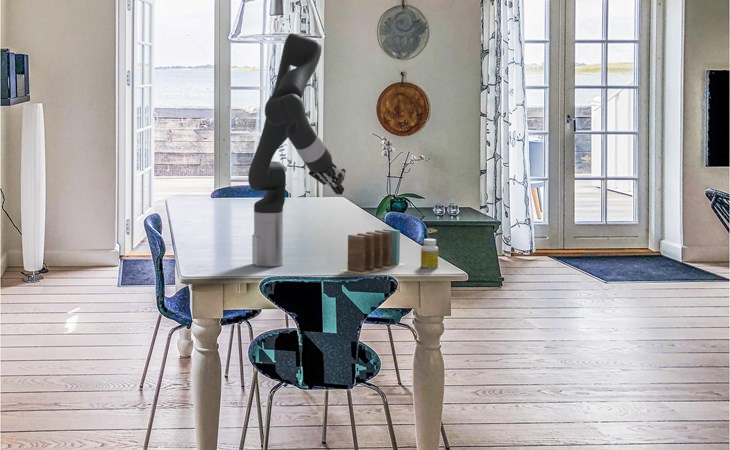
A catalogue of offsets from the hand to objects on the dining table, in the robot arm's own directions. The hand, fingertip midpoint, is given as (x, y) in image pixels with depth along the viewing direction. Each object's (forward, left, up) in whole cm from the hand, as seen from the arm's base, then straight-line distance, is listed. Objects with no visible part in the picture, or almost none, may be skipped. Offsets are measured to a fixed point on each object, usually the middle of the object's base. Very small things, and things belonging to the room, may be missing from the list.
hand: (340, 192), depth 250 cm
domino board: (+15, +10, -26) cm, 32 cm away
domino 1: (+8, +6, -25) cm, 27 cm away
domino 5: (+23, +15, -25) cm, 37 cm away
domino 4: (+19, +13, -25) cm, 34 cm away
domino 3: (+15, +10, -25) cm, 31 cm away
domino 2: (+12, +8, -25) cm, 29 cm away
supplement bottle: (+32, +5, -26) cm, 42 cm away
